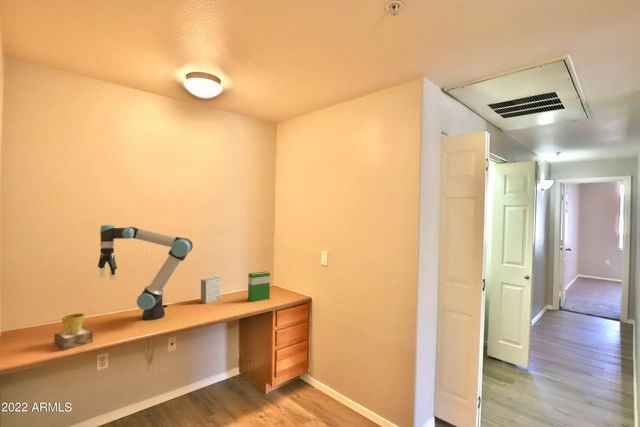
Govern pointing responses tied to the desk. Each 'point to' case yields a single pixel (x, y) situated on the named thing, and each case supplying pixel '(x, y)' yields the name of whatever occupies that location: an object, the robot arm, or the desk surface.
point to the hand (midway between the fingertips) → (107, 278)
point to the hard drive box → (210, 289)
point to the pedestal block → (73, 339)
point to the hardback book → (258, 286)
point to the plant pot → (73, 323)
